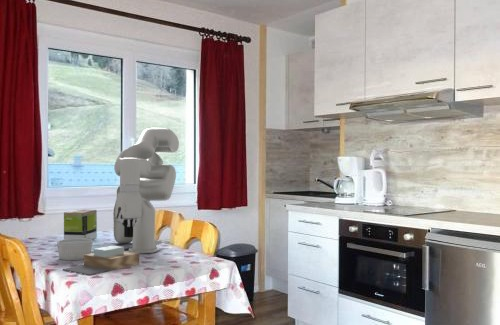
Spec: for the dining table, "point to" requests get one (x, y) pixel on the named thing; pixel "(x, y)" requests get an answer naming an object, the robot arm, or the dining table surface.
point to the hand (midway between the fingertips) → (128, 236)
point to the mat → (87, 269)
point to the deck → (112, 260)
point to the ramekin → (74, 248)
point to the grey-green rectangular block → (108, 251)
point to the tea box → (80, 224)
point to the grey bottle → (120, 228)
